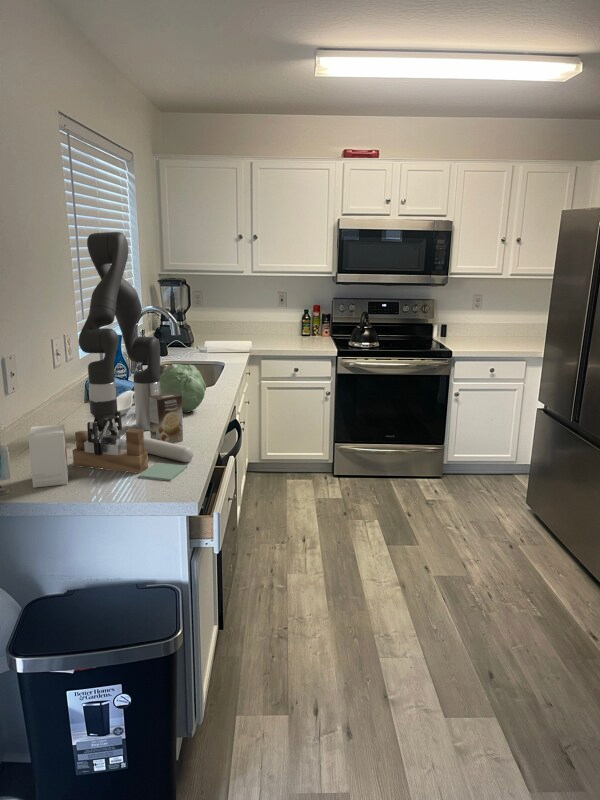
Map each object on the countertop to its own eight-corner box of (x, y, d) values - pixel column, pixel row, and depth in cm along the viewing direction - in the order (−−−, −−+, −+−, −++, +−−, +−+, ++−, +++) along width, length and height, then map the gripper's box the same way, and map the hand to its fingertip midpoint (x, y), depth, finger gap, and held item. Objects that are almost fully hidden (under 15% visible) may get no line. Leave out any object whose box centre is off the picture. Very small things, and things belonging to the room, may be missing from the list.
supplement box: (68, 484, 159) (63, 432, 155) (32, 488, 156) (27, 435, 153) (69, 473, 167) (64, 423, 164) (35, 476, 164) (30, 426, 161)
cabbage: (206, 416, 228) (205, 366, 223) (157, 417, 226) (155, 367, 221) (207, 406, 243) (205, 359, 239) (161, 407, 241) (159, 360, 236)
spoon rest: (122, 419, 223) (120, 401, 222) (95, 417, 226) (93, 399, 224) (151, 405, 246) (150, 388, 244) (126, 403, 248) (125, 386, 247)
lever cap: (95, 446, 176) (94, 431, 174) (128, 449, 173) (127, 434, 172) (84, 452, 170) (83, 437, 169) (118, 455, 168) (117, 440, 167)
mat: (156, 464, 175) (156, 462, 175) (187, 467, 173) (187, 465, 173) (138, 477, 165) (138, 475, 165) (170, 480, 163) (170, 478, 162)
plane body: (82, 461, 177) (79, 423, 174) (148, 467, 172) (146, 429, 169) (73, 466, 173) (70, 427, 170) (140, 473, 168) (138, 433, 165)
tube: (194, 464, 179) (135, 449, 191) (197, 447, 179) (138, 433, 191) (183, 464, 174) (123, 449, 186) (186, 446, 174) (126, 432, 186)
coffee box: (160, 446, 192) (158, 399, 188) (150, 442, 196) (147, 396, 192) (183, 440, 198) (182, 395, 194) (173, 436, 202) (171, 391, 199)
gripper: (104, 391, 175) (108, 442, 179) (76, 402, 162) (81, 457, 166) (127, 392, 174) (130, 444, 178) (100, 404, 160) (104, 459, 164)
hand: (106, 450), depth 172 cm, fingers open, 8 cm apart
